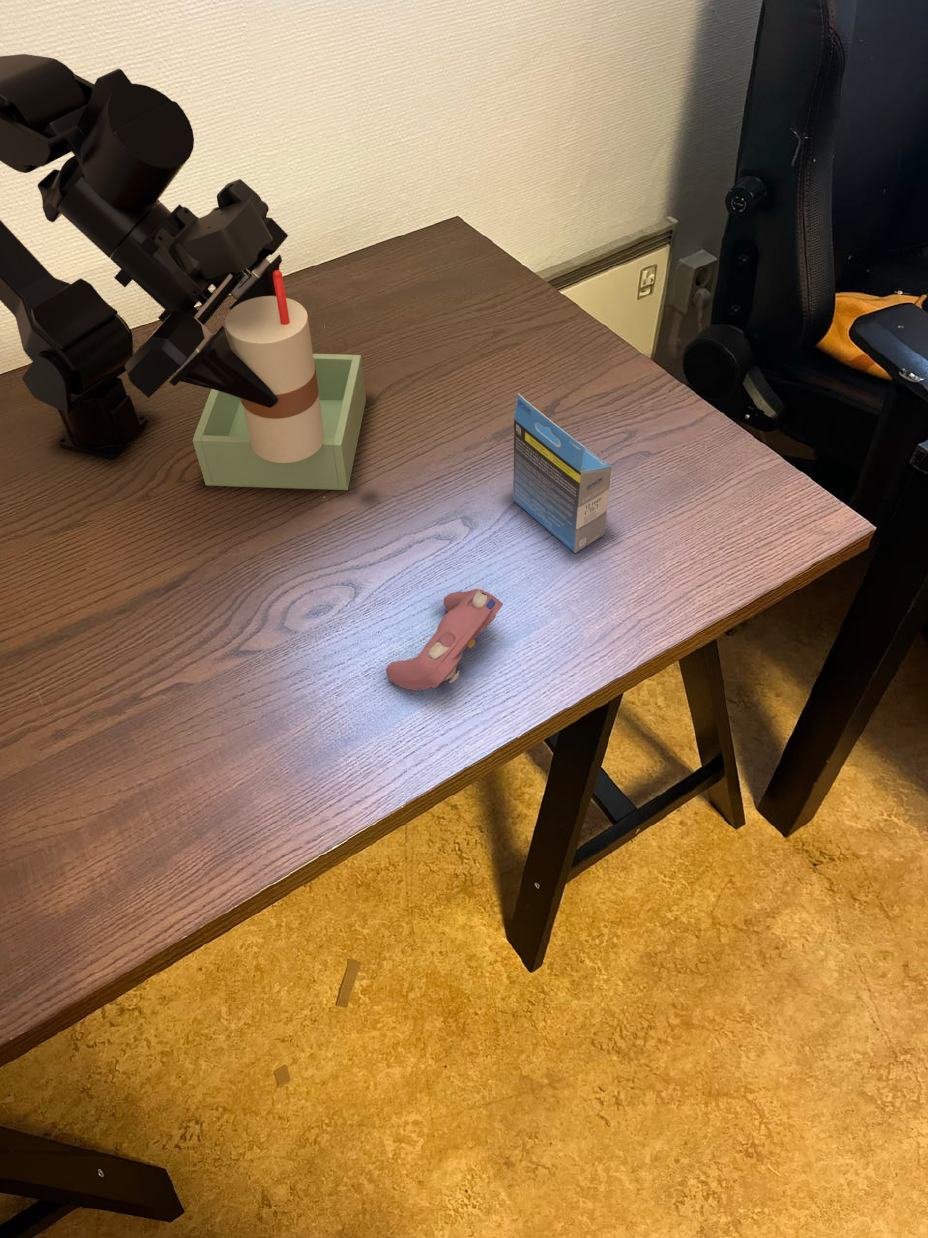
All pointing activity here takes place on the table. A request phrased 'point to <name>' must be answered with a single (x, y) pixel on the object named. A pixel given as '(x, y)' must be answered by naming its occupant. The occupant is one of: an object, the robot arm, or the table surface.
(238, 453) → the bin
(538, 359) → the table surface
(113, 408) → the robot arm
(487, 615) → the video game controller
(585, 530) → the label tape box
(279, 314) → the straw cup
